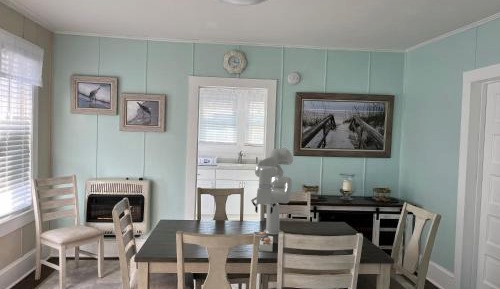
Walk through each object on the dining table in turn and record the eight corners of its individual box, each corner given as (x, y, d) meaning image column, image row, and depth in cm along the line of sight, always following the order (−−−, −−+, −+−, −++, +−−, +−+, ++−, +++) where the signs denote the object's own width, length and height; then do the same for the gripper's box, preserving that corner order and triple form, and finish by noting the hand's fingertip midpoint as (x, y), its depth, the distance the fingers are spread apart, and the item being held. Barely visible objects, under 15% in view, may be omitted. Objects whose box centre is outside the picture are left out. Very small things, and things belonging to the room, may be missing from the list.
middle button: (261, 239, 246) (262, 234, 245) (268, 239, 245) (268, 234, 245) (261, 241, 242) (261, 236, 241) (267, 241, 241) (268, 236, 241)
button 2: (263, 242, 239) (264, 237, 239) (270, 243, 239) (270, 237, 238) (263, 244, 235) (263, 239, 235) (270, 245, 235) (270, 239, 235)
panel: (257, 241, 253) (257, 235, 253) (272, 242, 253) (272, 236, 252) (256, 250, 234) (256, 244, 234) (272, 251, 234) (272, 245, 234)
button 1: (260, 236, 252) (260, 231, 252) (266, 237, 252) (266, 232, 252) (259, 238, 248) (259, 233, 248) (265, 238, 248) (266, 233, 248)
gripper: (278, 186, 251) (277, 212, 252) (251, 185, 253) (250, 211, 253) (278, 188, 244) (277, 214, 245) (251, 187, 245) (250, 213, 246)
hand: (263, 212), depth 249 cm, fingers open, 8 cm apart
